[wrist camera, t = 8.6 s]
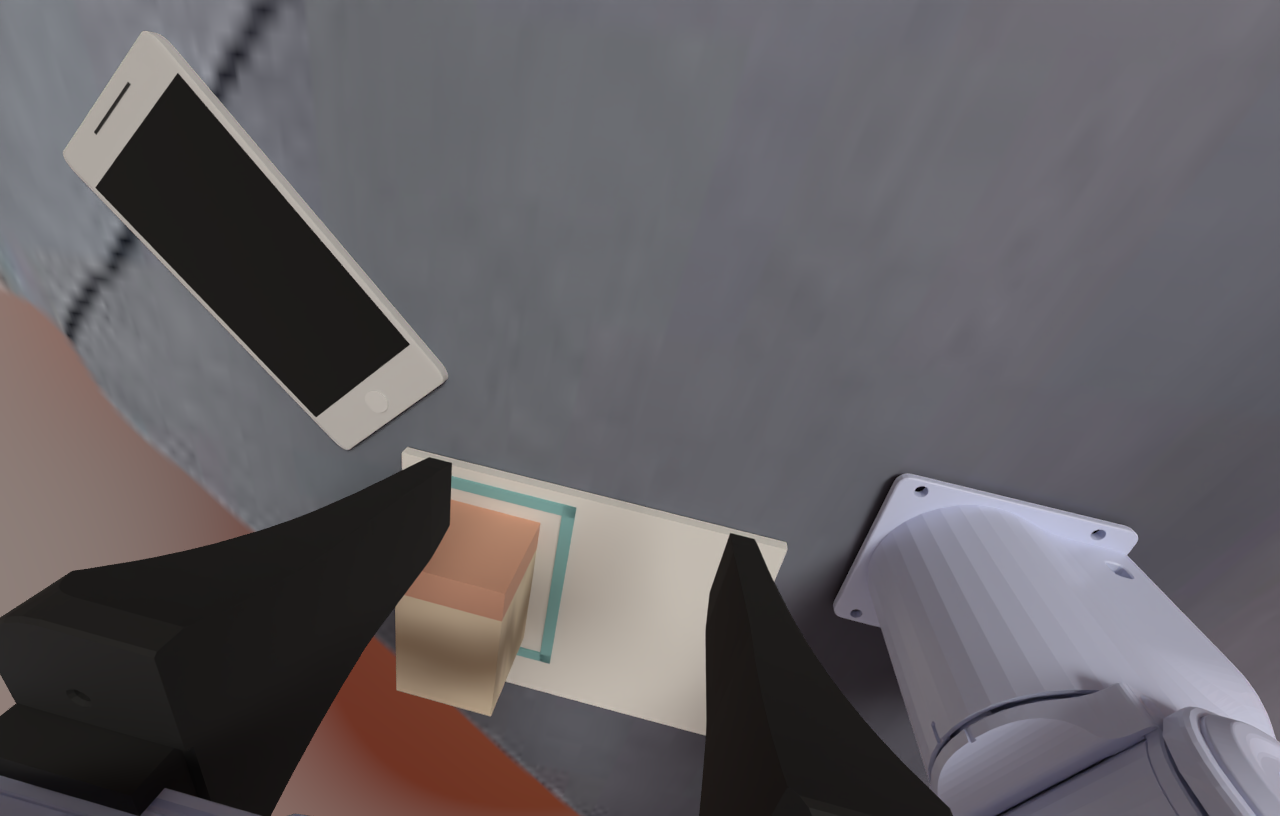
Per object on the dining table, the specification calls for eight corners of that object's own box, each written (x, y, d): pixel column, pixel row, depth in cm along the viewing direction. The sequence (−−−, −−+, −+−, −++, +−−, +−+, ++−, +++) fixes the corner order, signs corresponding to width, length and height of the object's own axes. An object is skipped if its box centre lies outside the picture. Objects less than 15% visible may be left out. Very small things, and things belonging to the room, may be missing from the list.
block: (523, 637, 29) (490, 716, 25) (442, 615, 29) (396, 690, 25) (540, 522, 25) (505, 593, 21) (447, 498, 25) (394, 564, 21)
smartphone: (355, 444, 26) (342, 454, 25) (82, 156, 22) (55, 156, 21) (456, 372, 23) (446, 380, 23) (169, 29, 19) (143, 23, 18)
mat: (786, 542, 24) (787, 551, 24) (709, 727, 31) (709, 738, 30) (407, 447, 25) (400, 453, 25) (409, 647, 31) (403, 655, 31)
